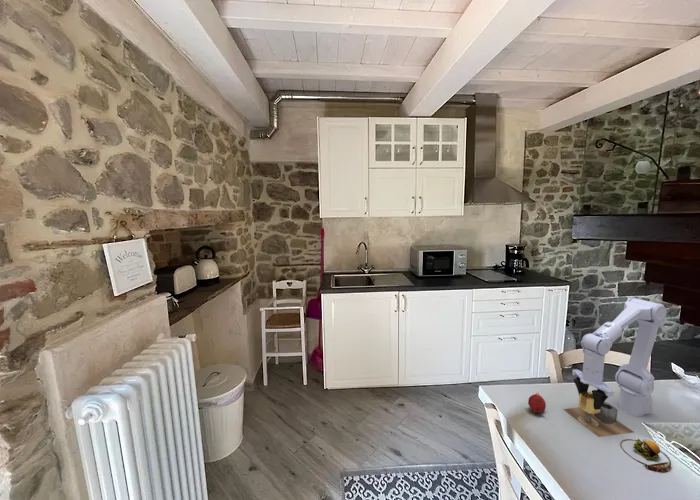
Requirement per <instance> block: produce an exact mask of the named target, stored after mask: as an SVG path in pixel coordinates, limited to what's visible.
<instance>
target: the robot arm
mask: <svg viewBox="0 0 700 500" xmlns="http://www.w3.org/2000/svg"><path fill="white" fill-rule="evenodd" d="M667 312H668V311H667V309H666V307H665V305H664V304H663V303H657V302H653V301H650V300H649V301H648V300H644V299H641V298H636V297H629V298H628V299H627V300H626V301H625V302H624V305H623V310H622V311H621V312H620V313H619V314H618V315H617V316H616V317H615V318H614V319H613V321H606V322H604V323H603V324H602V325H601V326H600V327H598V328H597V329H596V330H595V331H593V332H592V333H591V332H589V333H586V334H584V335H583V337H582V338H581V341H580V346H581V348H582V353H583V362H582V364H583V366H582V371H581V370H579V369H572V376H573V377H576V378H573V380H572V381H573V383H574V384H575V386H576V389H577V393H578V396H579V395H580V393H581V392H586V391H587V392H589V387H590V386H591V387H594V388H595V389H593V390H591V393H592V394H593V398H594V409H595V410H598V409H601V407H602V405H603V403H604V402H606V400H607V399H608V398H609V397H614V394H615V390H613V389H611V388H610V387H609V386H608V384H606V383H605V382H604V381H603V379H604V368H605V357H606V354H608V353H609V352H610V350H611V348H612V346H613V343H614V342H615V341H616V340H618V339H619V338H620V337H621V336H622V335H623V333H624V332H623V330H624V329H625V328H627V327H628V326H629V325H631V324H632V323H634V322H637V323H638V324H639V325H638V327H637V328H638V329H637V333H636V336H635V339H634V343H633V346H632V350H631V354H630V357H629V361H628V363H624V364H622V365H619V368H618V370H617V371H616V372H615V375H614V379H615V382H616V383H617V384H618V387H619V389H620V390H619V400H618V408H619V410H621V411H623V413H626V414H629V415H632V416H636V417H643V416H644V415H650V414H652V410H653V403H654V399H653V396H652V393H653V392H654V389H655V377H654V374H652V373H651V372H650V371H649V369H648V366H649V363H650V359H651V355H652V351H653V348H654V344H655V340H656V338H657V337H656V336H657V334H658V330H659V327H663V326H664V323H665V319H666V317H667Z"/></svg>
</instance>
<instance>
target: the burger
mask: <svg viewBox="0 0 700 500" xmlns="http://www.w3.org/2000/svg"><path fill="white" fill-rule="evenodd" d="M658 439H659V438H657V439H656V440H655V441H653V440H651V439H647V438H643V439H642V441H641V439H640V438H638V439H631V438H630V439H629V438H626V439H623V440H621V441H620V447H621V448H622V451H624V452H626V450H625V449H624V448H623V445H622V444H623V443H624V442H626V441H627V442H633V449H634V451H635V453H636V454H638V455H639V456H641V457H643V458H644V459H646V460H647V461H649V462H653V461H654V460H658V459H660V455H659V454H662V455H664V457H665V458H666V459H667V461H666V462H660V463H652V464H647V463H645V462H642V461H640V460H638V459H635V458H634V460H635V461H636V462H638V463H640V464H643V465H646V467H647V469H648V470H649V471H651V472H658V471H659V470H661V472H663V473H667V472H669V471H671V469H672V462H671V461H672V460H671V459H670V457H669V456H668V455H667V454H666V453H665V452H663V451H662V450H661V448H660V446H659V444H657V443H656V442H657V441H658ZM626 454H627V455H628V456H630V454H629V453H627V452H626Z"/></svg>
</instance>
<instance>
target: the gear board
mask: <svg viewBox="0 0 700 500" xmlns="http://www.w3.org/2000/svg"><path fill="white" fill-rule="evenodd" d="M562 410H563V411H565V412H566V413H567V414H568V415H570V416H571V417H572V418H573V419H575V420H576V421H577V422H578V423H580V424H581V425H583V426H584V427H585V428H586V429H588V430H589V431H590V432H592V433H593V434H594V435H595V436H597V438H598V437H599V438H600V437H609V436H616V435H622V434H630V433H634V431H633V430H632V429H631V428H629V427H628V426H626V425H625V424H623V423H622V422H620V421H619V420H618V419H617V420H616V423H613V424H608V423H607V424H605V423H604V422H601V421H600V420H599V419H597V418H596V417H595V416H594V414H592V413H591V414H589V413H588V412H585V411H584V410H583V409H581V408H580V407H579V406H578V407H569V408H563V409H562Z"/></svg>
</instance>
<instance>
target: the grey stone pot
mask: <svg viewBox="0 0 700 500" xmlns="http://www.w3.org/2000/svg"><path fill="white" fill-rule="evenodd" d="M594 416H595V417H596V418H597V419H599V420H600V421H601V422H604V423H605V424H607V423H608V424H613V423H616V420H617V421H618V408H616V406H614V405H612V404H611V403H608V402H607V401H604V403H603V405H602V407H601V409H600V412H598V413H595V414H594Z"/></svg>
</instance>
